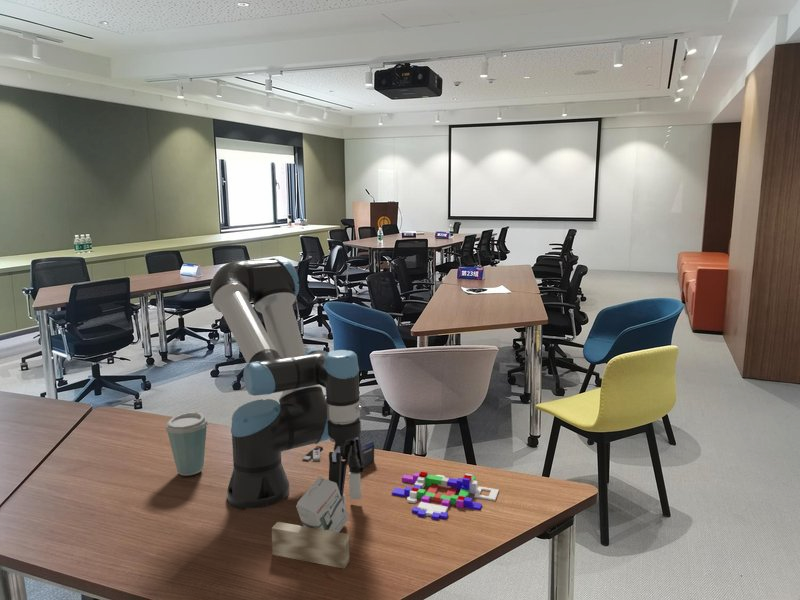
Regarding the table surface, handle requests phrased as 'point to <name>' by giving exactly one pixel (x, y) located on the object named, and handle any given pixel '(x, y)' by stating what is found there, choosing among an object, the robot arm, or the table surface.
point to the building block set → (435, 483)
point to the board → (310, 544)
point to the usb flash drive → (313, 454)
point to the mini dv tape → (367, 453)
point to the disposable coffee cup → (188, 441)
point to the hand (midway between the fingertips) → (348, 509)
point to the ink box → (322, 506)
